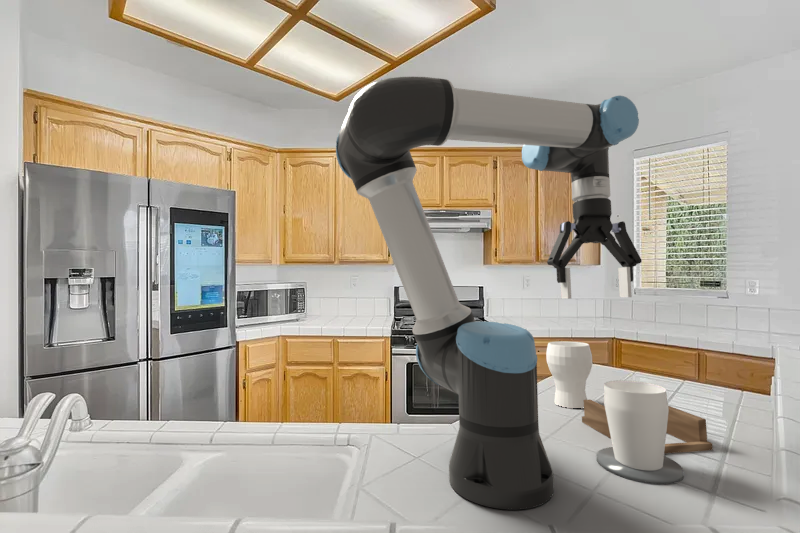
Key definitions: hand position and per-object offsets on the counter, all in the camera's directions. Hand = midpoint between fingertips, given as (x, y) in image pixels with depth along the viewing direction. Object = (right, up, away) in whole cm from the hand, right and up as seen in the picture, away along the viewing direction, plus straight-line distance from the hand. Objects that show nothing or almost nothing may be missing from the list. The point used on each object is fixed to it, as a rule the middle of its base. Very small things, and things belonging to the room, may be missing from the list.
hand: (596, 298), depth 82 cm
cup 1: (+1, -28, +13) cm, 31 cm away
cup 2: (-4, -25, -20) cm, 32 cm away
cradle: (+5, -26, -7) cm, 28 cm away
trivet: (-4, -26, -20) cm, 33 cm away
